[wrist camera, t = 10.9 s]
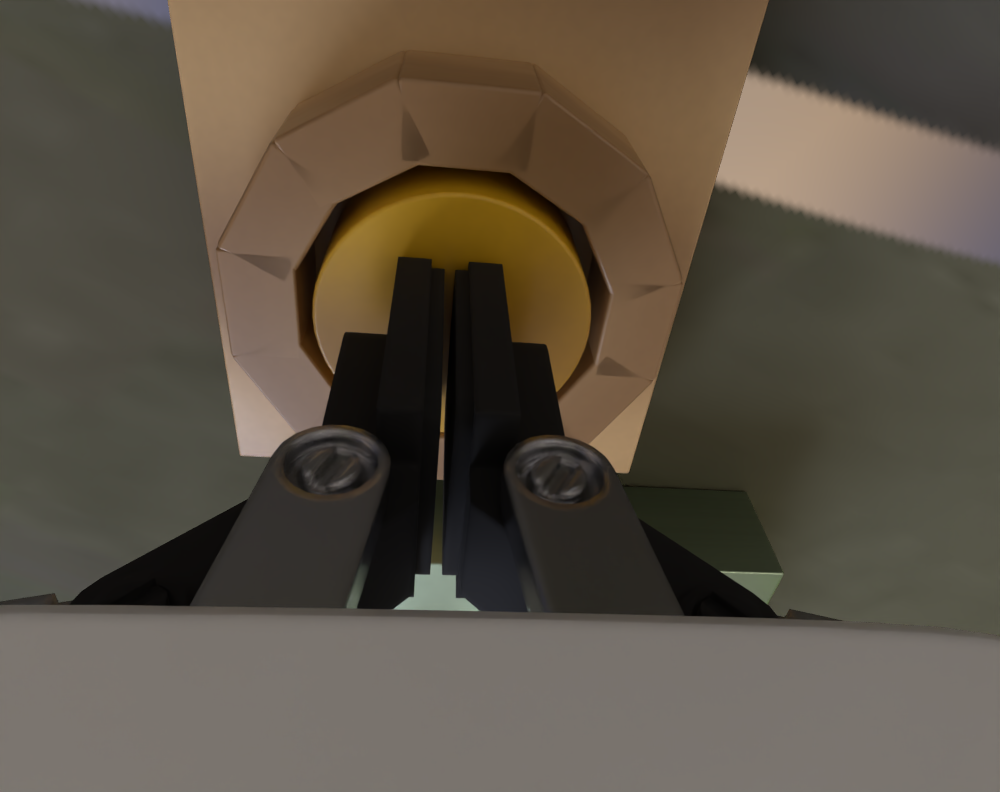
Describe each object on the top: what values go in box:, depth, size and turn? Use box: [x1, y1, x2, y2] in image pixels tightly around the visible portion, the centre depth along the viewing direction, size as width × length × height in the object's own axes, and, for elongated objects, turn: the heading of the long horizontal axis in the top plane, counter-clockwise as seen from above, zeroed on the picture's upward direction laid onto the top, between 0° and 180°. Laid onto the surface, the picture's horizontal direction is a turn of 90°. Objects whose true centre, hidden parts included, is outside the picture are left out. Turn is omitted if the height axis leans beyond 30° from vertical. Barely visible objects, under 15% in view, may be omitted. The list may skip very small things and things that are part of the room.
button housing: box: [168, 0, 769, 480], centre depth 13 cm, size 10×9×4 cm
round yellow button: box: [312, 165, 591, 432], centre depth 12 cm, size 5×5×2 cm
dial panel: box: [394, 480, 783, 611], centre depth 22 cm, size 12×10×3 cm
